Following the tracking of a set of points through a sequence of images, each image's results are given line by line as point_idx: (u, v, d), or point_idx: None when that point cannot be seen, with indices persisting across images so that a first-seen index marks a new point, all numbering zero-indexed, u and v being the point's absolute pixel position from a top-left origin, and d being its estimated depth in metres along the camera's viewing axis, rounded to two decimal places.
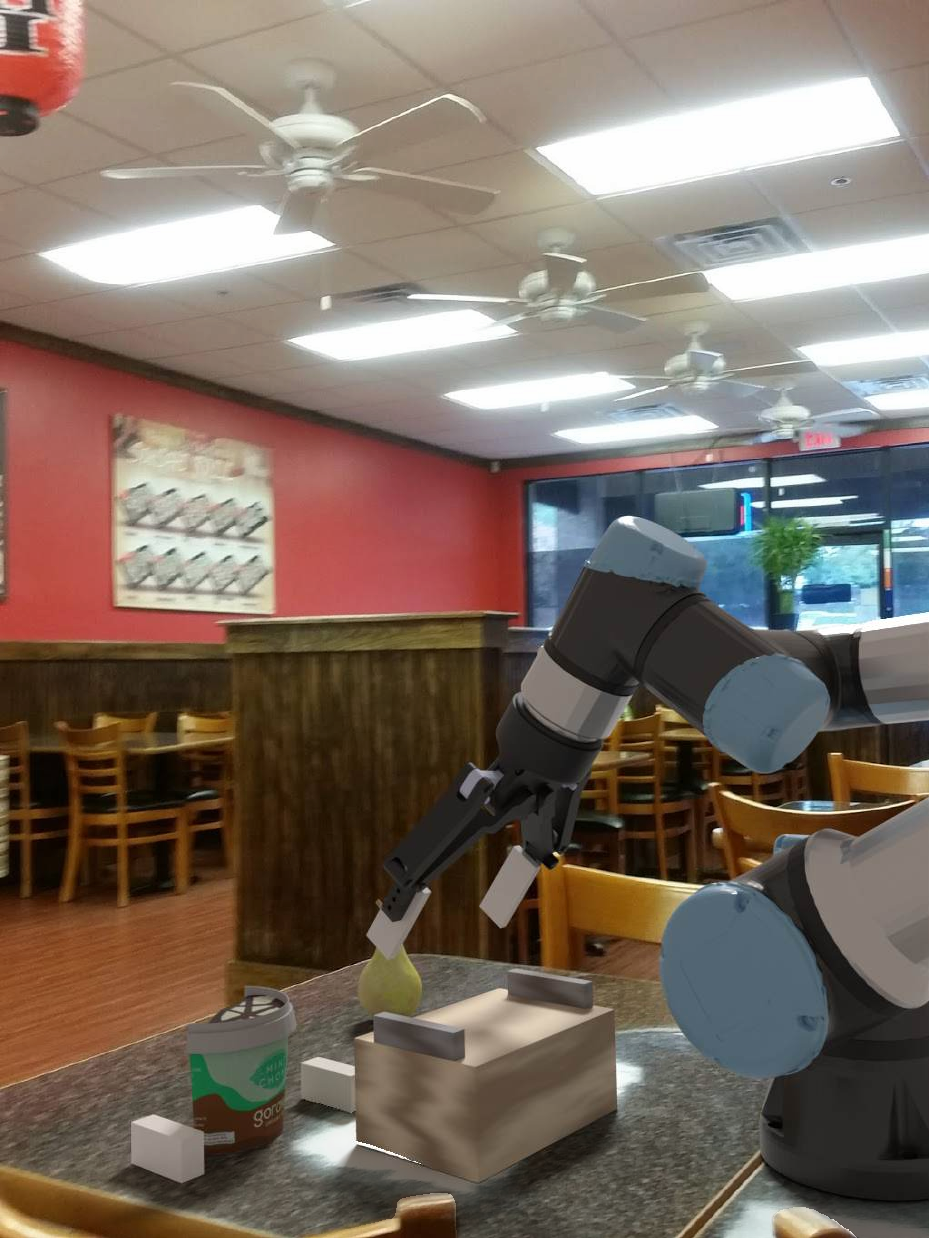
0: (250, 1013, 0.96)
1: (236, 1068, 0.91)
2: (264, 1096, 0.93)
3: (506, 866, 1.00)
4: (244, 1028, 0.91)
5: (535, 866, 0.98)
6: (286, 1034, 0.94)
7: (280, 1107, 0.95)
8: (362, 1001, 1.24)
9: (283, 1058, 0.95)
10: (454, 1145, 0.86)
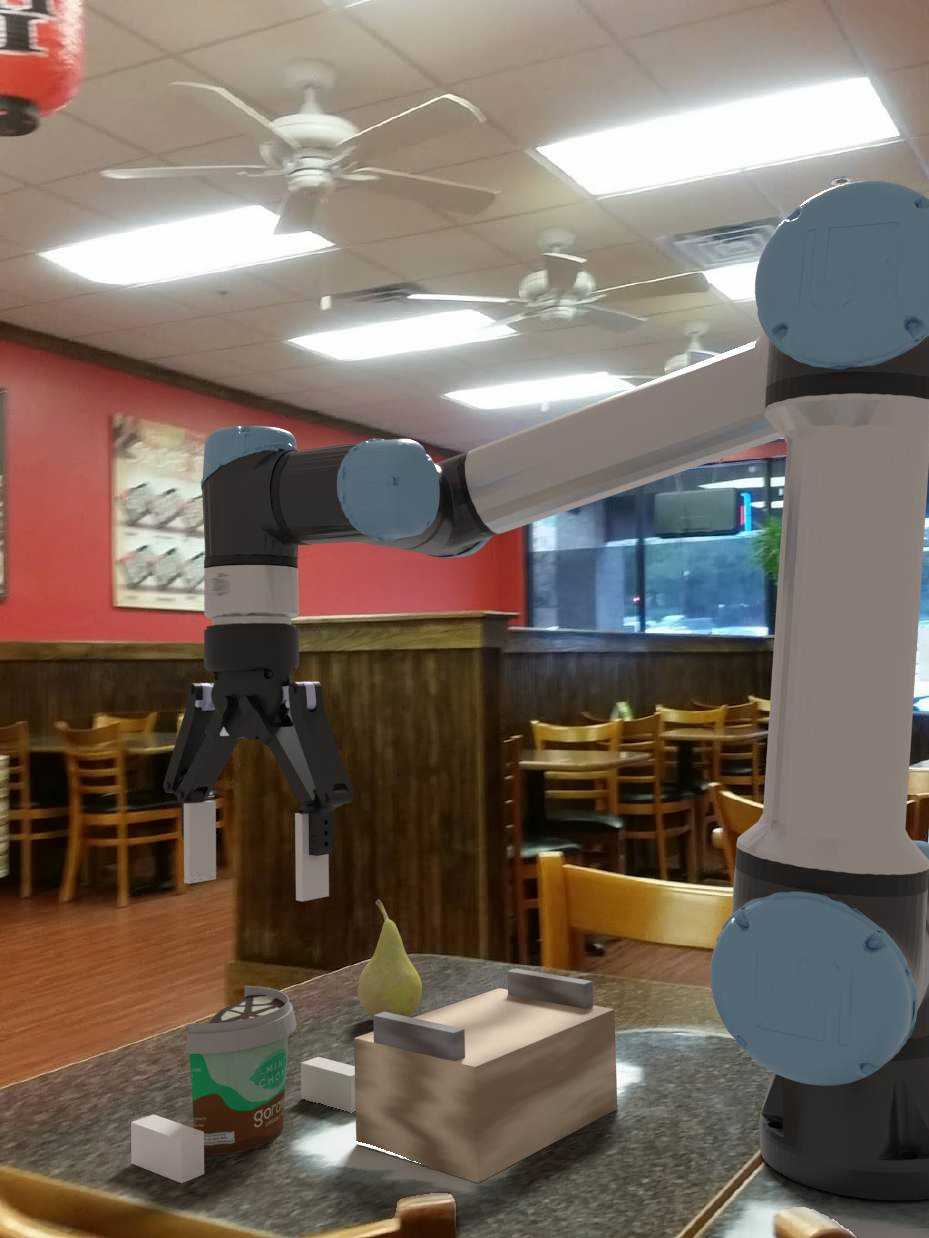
0: (250, 1013, 0.96)
1: (236, 1068, 0.91)
2: (264, 1096, 0.93)
3: (192, 826, 1.00)
4: (244, 1028, 0.91)
5: (212, 801, 1.02)
6: (286, 1034, 0.94)
7: (280, 1107, 0.95)
8: (362, 1001, 1.24)
9: (283, 1058, 0.95)
10: (454, 1145, 0.86)
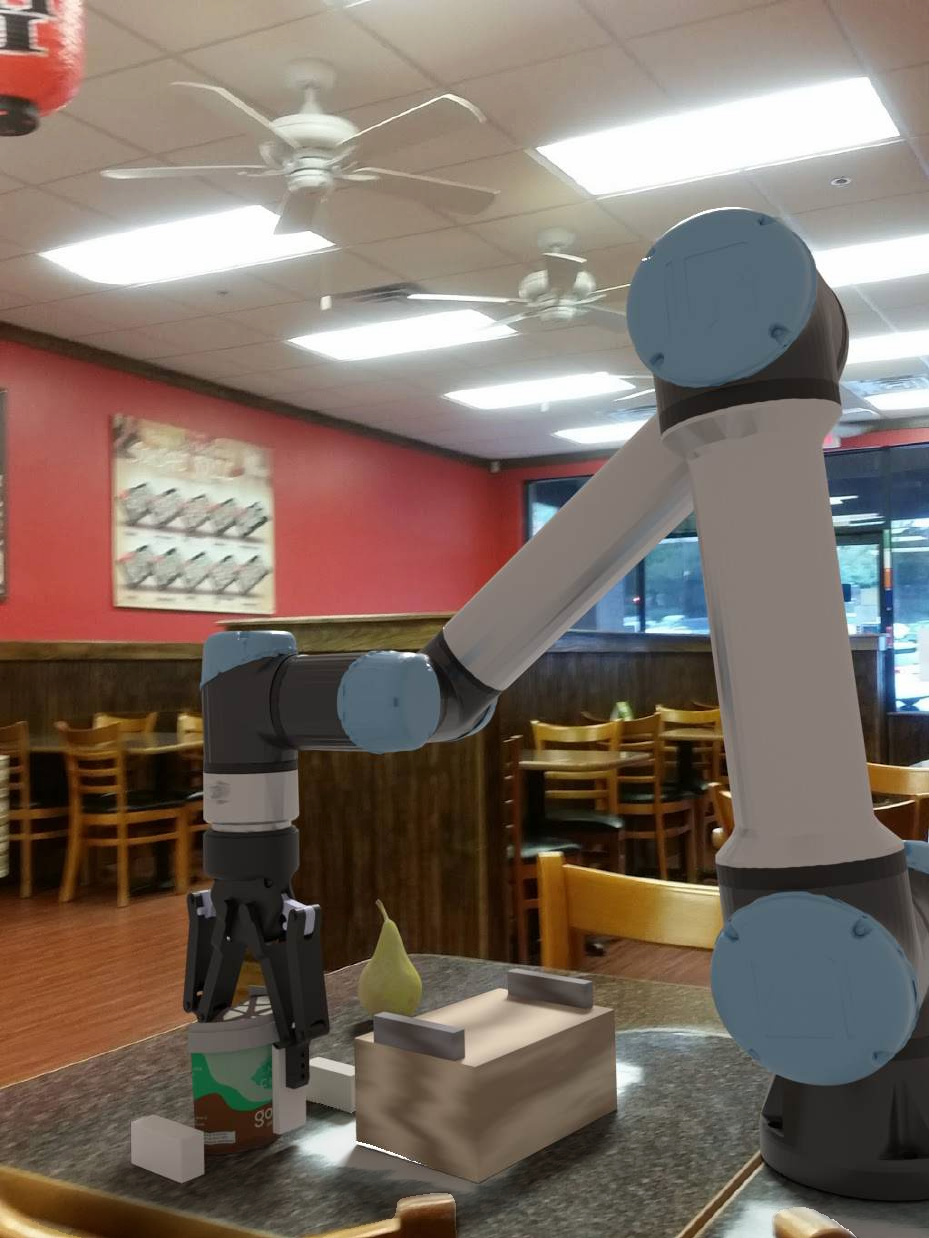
0: (253, 1012, 0.96)
1: (237, 1068, 0.91)
2: (265, 1096, 0.93)
3: None
4: (245, 1028, 0.91)
5: None
6: None
7: None
8: (362, 1001, 1.24)
9: None
10: (454, 1145, 0.86)
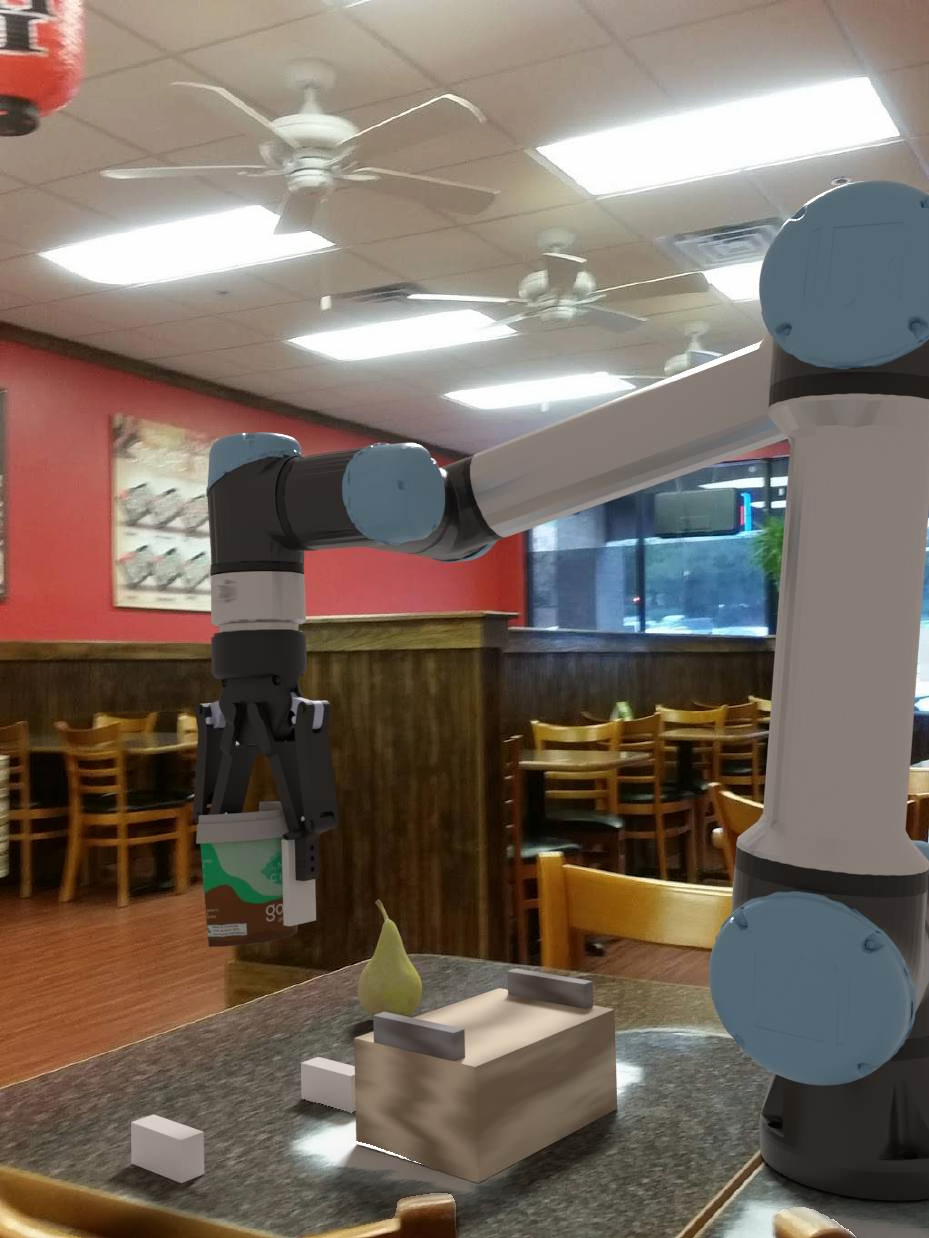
0: None
1: (247, 860, 0.92)
2: (276, 891, 0.93)
3: None
4: (254, 820, 0.92)
5: None
6: None
7: None
8: (362, 1001, 1.24)
9: None
10: (454, 1145, 0.86)
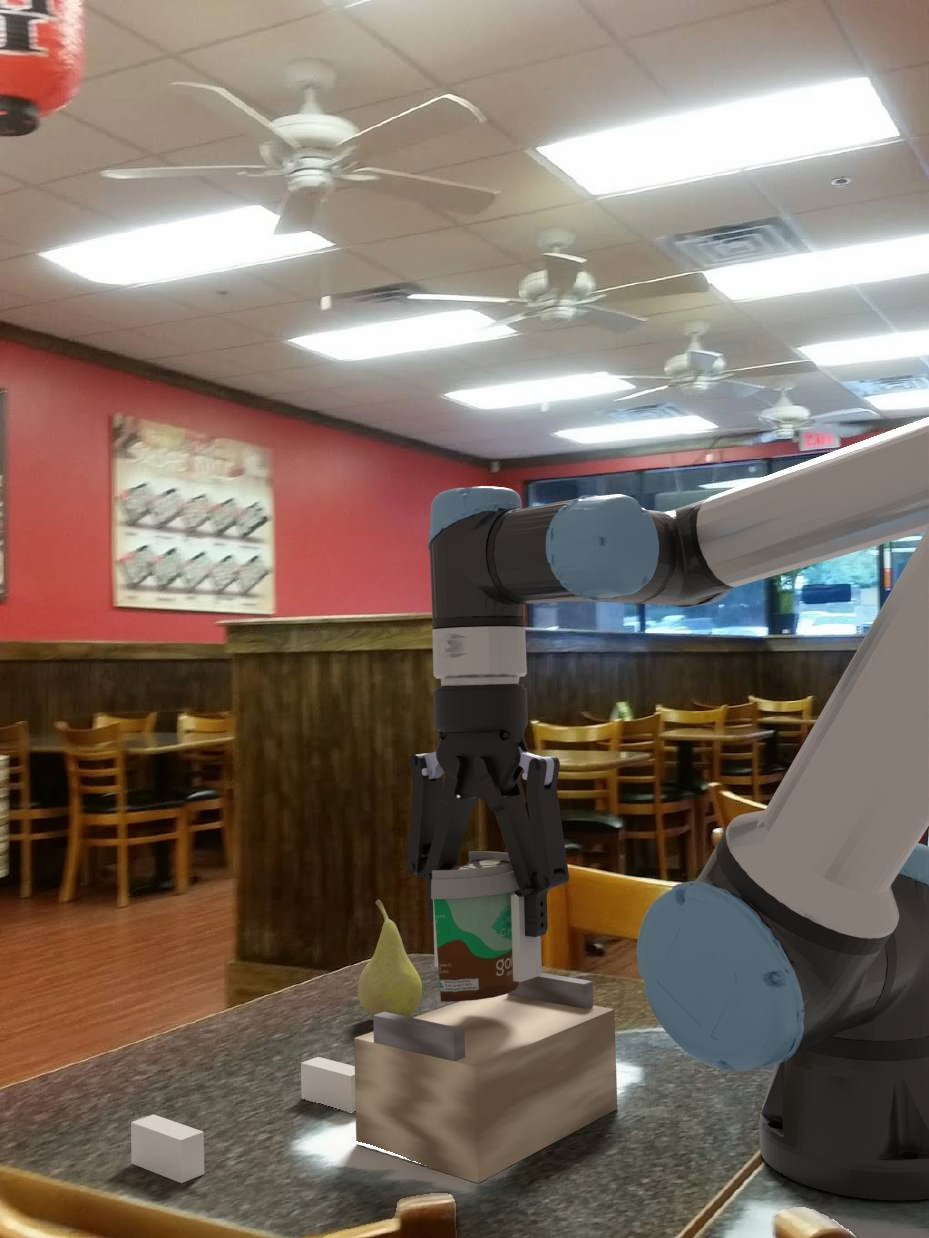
0: None
1: (479, 916, 0.92)
2: (505, 946, 0.93)
3: None
4: (486, 875, 0.92)
5: None
6: None
7: None
8: (362, 1001, 1.24)
9: None
10: (454, 1145, 0.86)
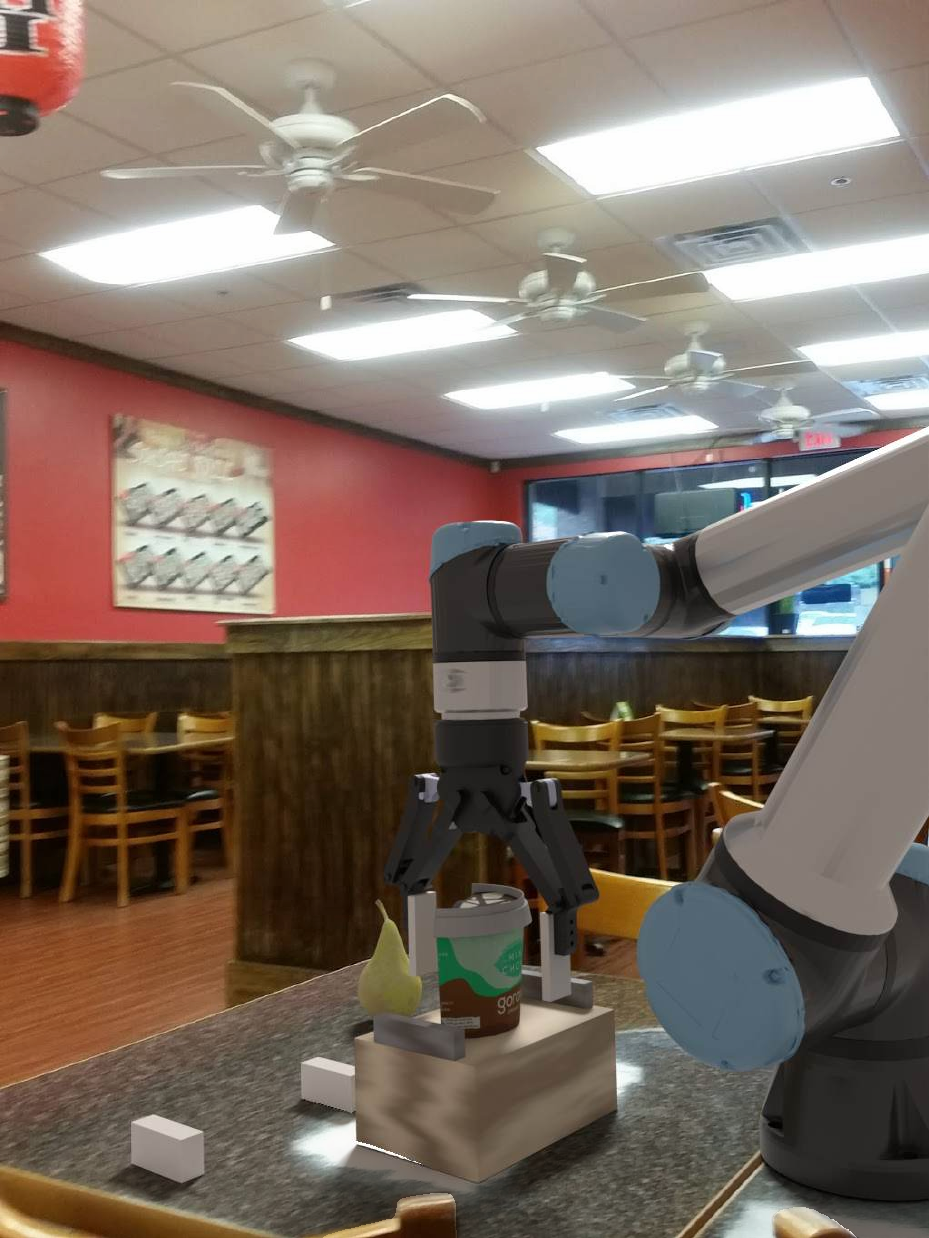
0: (486, 904, 0.97)
1: (482, 954, 0.92)
2: (506, 984, 0.93)
3: (417, 918, 1.00)
4: (489, 914, 0.92)
5: None
6: (526, 923, 0.94)
7: (519, 997, 0.95)
8: (362, 1001, 1.24)
9: (521, 949, 0.95)
10: (454, 1145, 0.86)
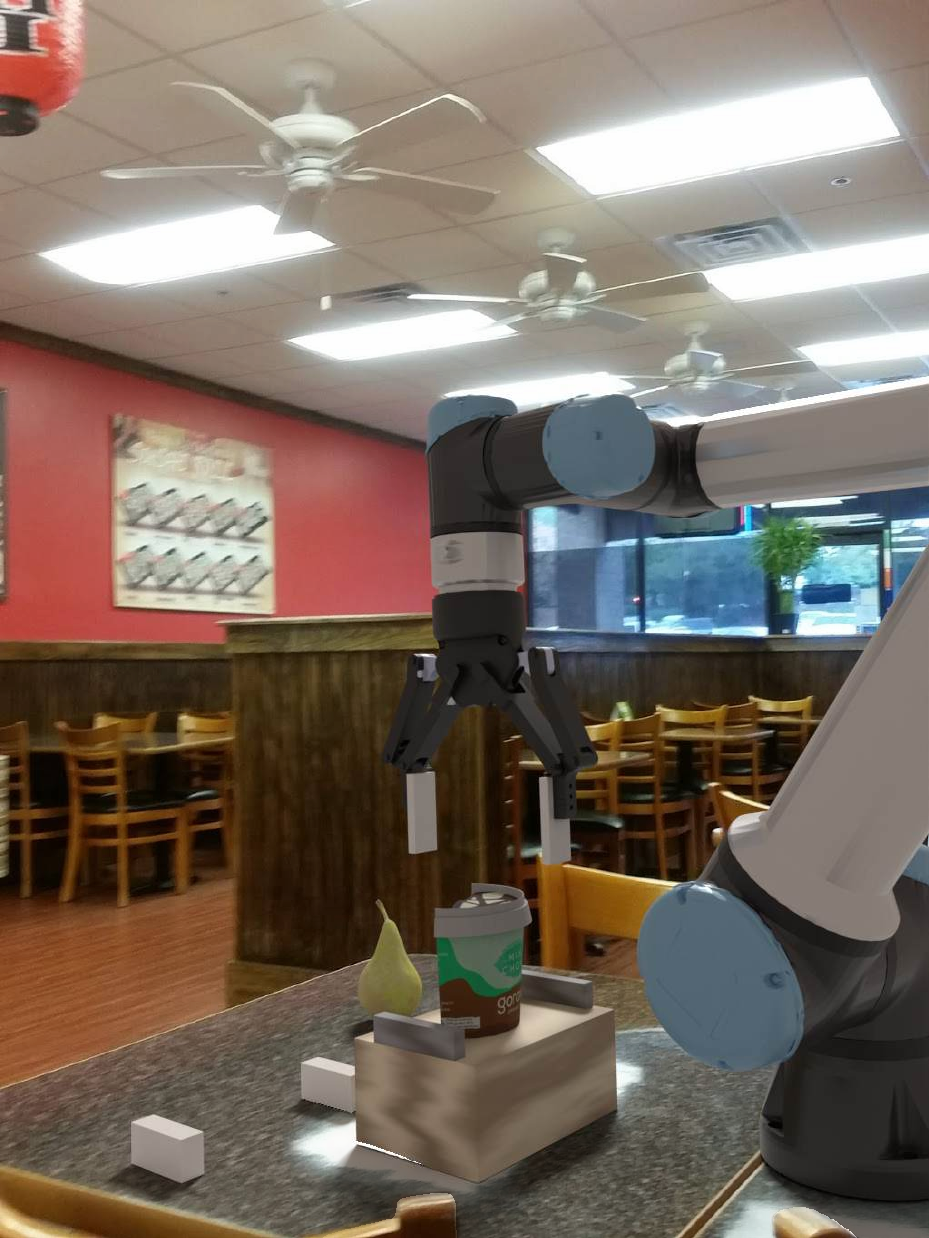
0: (486, 904, 0.97)
1: (482, 954, 0.92)
2: (506, 984, 0.93)
3: (416, 796, 1.00)
4: (489, 914, 0.92)
5: (432, 772, 1.02)
6: (526, 923, 0.94)
7: (519, 997, 0.95)
8: (362, 1001, 1.24)
9: (521, 949, 0.95)
10: (454, 1145, 0.86)
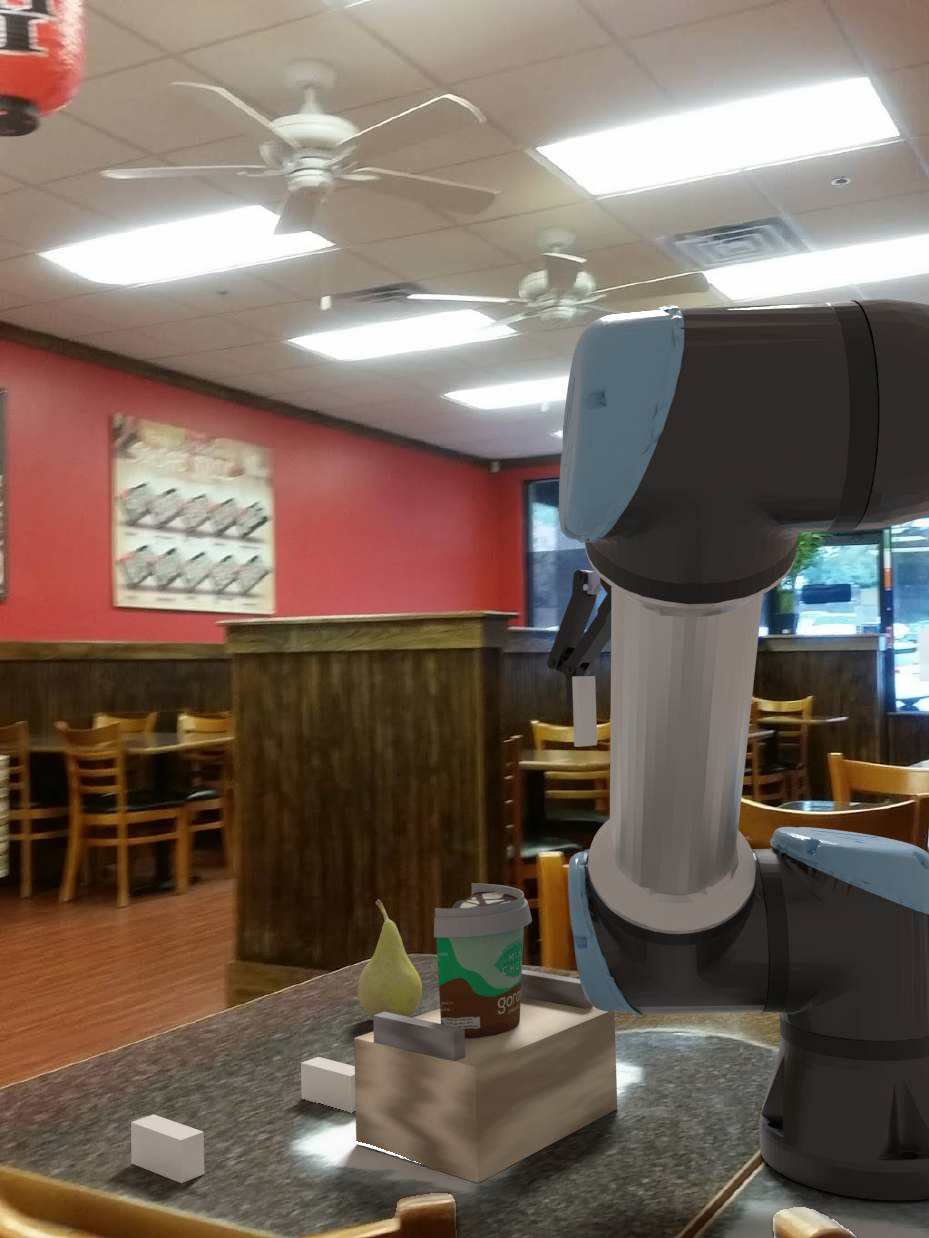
0: (486, 904, 0.97)
1: (482, 954, 0.92)
2: (506, 984, 0.93)
3: (581, 696, 1.12)
4: (489, 914, 0.92)
5: (592, 676, 1.14)
6: (526, 923, 0.94)
7: (519, 997, 0.95)
8: (362, 1001, 1.24)
9: (521, 949, 0.95)
10: (454, 1145, 0.86)
